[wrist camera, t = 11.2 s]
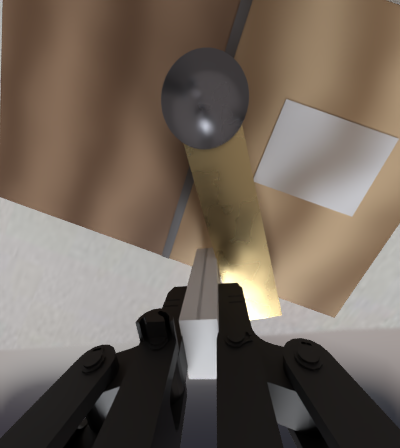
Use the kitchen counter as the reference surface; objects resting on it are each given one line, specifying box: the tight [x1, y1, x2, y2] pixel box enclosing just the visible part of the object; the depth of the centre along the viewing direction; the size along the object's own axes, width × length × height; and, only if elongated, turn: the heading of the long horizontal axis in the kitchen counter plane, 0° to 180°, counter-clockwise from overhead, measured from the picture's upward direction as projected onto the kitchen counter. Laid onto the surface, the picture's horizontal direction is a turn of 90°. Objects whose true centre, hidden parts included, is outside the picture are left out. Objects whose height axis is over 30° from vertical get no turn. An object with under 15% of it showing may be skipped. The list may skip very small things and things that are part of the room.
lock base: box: [0, 0, 400, 318], centre depth 13 cm, size 28×18×2 cm, turn 71°
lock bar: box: [161, 48, 282, 320], centre depth 11 cm, size 14×4×3 cm, turn 16°
